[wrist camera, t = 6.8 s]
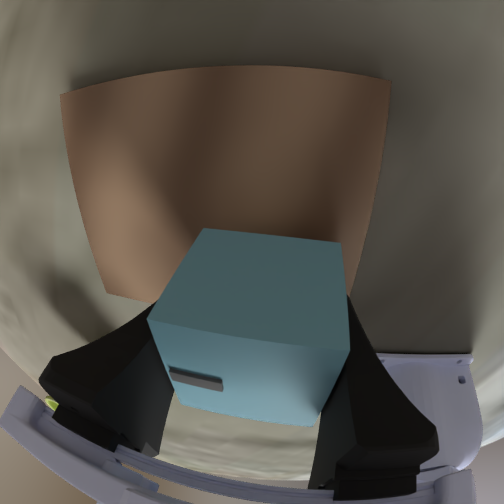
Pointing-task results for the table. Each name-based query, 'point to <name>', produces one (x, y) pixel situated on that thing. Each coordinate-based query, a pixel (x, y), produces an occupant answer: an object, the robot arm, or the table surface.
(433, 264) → the table surface
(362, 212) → the panel
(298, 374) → the blue cube with slot
